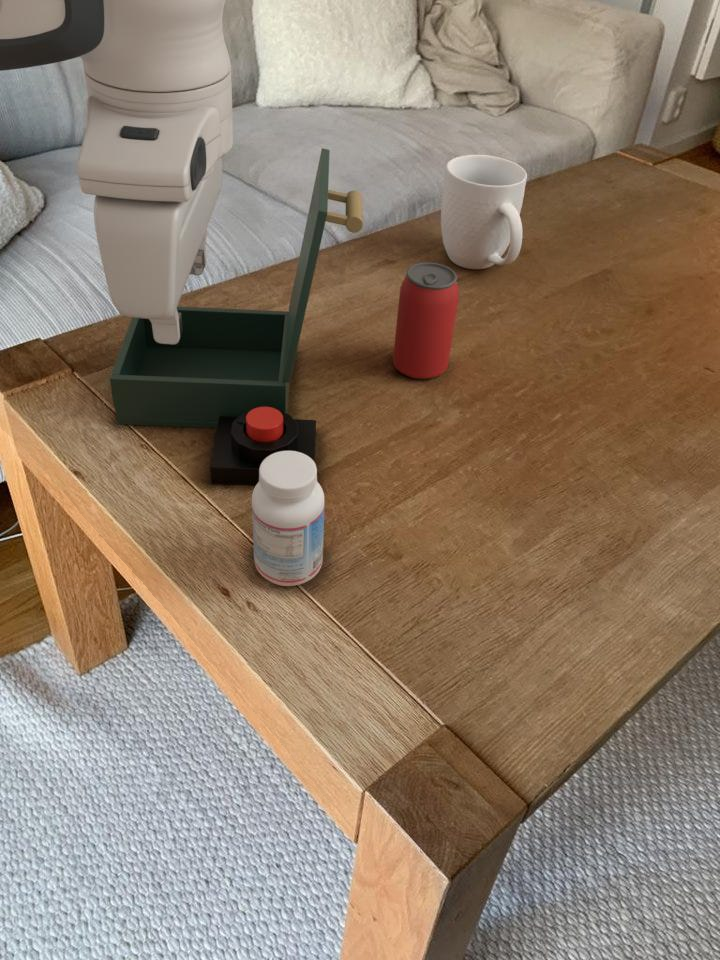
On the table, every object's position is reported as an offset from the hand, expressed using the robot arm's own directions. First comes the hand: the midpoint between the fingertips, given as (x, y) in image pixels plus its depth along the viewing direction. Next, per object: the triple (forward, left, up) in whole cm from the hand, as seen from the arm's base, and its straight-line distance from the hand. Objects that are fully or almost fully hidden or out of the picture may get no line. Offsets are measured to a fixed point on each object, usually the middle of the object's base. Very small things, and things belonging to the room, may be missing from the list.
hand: (182, 302), depth 62 cm
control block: (+5, +8, -22) cm, 24 cm away
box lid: (+8, +20, -7) cm, 23 cm away
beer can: (+22, +26, -23) cm, 41 cm away
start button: (+5, +8, -19) cm, 21 cm away
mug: (+32, +53, -23) cm, 66 cm away
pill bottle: (+8, -6, -23) cm, 25 cm away
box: (-2, +20, -22) cm, 30 cm away
